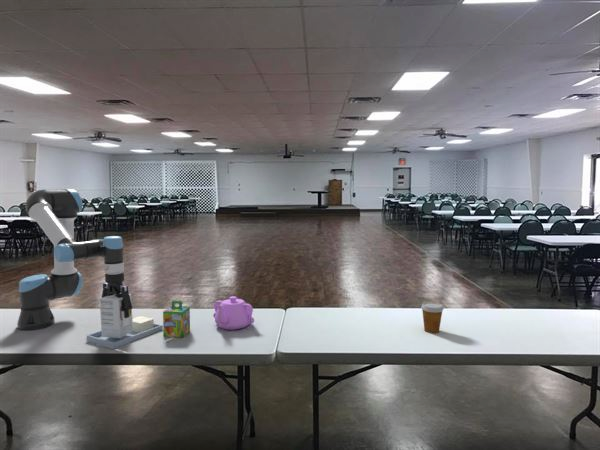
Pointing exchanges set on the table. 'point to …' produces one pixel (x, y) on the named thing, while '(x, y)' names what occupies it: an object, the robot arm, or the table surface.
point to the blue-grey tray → (117, 342)
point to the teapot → (233, 313)
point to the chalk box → (176, 320)
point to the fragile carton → (142, 324)
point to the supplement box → (113, 317)
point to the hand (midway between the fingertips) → (117, 322)
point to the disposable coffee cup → (432, 316)
